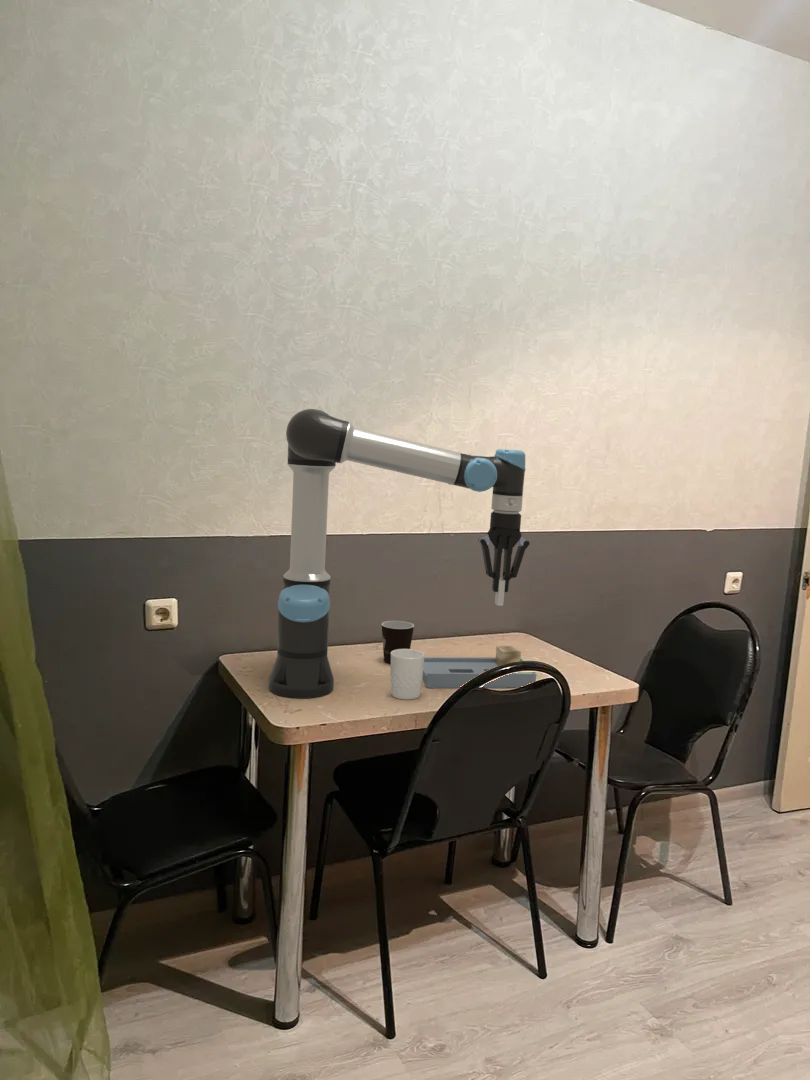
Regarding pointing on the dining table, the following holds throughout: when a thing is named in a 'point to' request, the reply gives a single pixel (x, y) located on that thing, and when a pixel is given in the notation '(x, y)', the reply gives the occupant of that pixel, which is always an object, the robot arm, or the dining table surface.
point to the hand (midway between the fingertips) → (499, 604)
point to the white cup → (406, 673)
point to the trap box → (468, 672)
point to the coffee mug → (396, 637)
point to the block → (507, 655)
